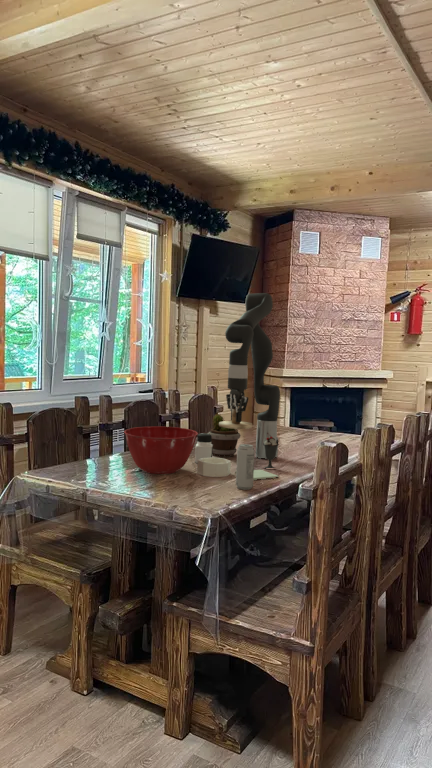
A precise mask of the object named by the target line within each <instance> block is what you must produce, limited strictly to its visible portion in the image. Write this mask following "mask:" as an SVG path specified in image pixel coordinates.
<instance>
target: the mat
mask: <svg viewBox="0 0 432 768" xmlns="http://www.w3.org/2000/svg"><path fill="white" fill-rule="evenodd" d="M235 473H236V471H235ZM274 477H280V476H279V475H277V474H275V473H271V472H268V471H267V470H265V469H264V470H263V469H254V474H253V481H258V480H257V479H261V480H267V479H266V478H273V479H275V478H274Z"/></svg>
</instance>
